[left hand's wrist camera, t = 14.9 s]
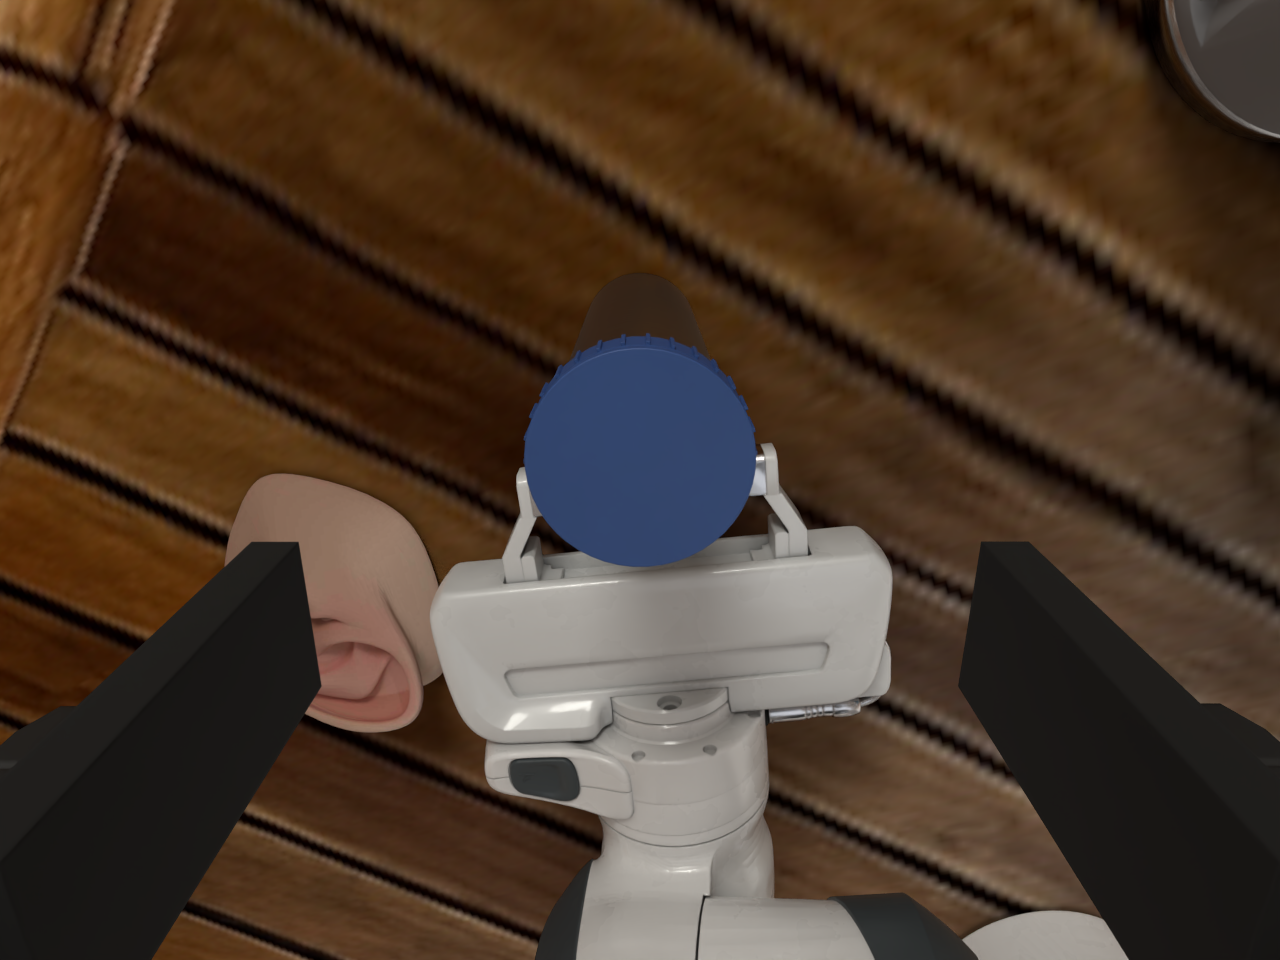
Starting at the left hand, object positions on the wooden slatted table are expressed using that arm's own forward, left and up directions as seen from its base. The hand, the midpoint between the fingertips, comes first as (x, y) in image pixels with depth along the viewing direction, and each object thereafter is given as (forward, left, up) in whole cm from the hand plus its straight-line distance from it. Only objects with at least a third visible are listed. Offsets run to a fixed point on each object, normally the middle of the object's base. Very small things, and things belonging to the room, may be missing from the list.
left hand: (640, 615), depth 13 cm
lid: (0, 0, -8) cm, 8 cm away
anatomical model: (+8, +20, -27) cm, 34 cm away
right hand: (-2, +4, -21) cm, 21 cm away
